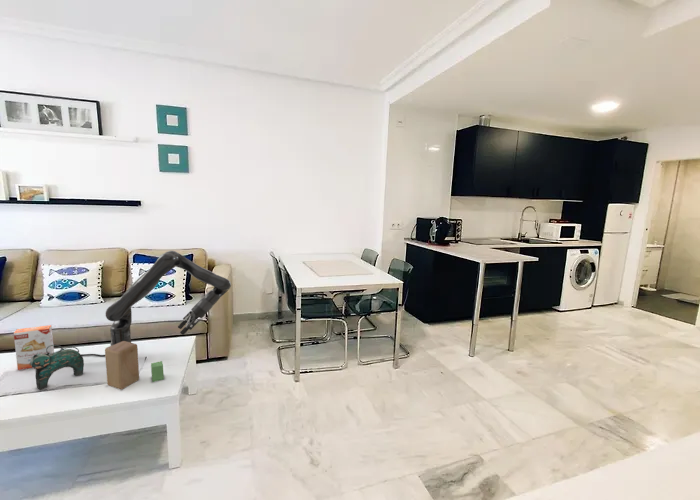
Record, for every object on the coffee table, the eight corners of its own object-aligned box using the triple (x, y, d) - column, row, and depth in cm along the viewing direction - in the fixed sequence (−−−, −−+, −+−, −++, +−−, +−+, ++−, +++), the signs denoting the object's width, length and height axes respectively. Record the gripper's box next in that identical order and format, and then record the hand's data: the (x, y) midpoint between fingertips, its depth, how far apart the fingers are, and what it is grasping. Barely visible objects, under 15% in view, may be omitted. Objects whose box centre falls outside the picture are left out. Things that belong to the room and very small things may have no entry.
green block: (151, 377, 172) (150, 363, 170) (162, 374, 175) (162, 360, 173) (152, 382, 168) (151, 367, 166) (163, 379, 171) (163, 365, 169)
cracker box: (17, 371, 171) (12, 333, 168) (20, 365, 176) (16, 328, 173) (53, 364, 179) (49, 328, 176) (55, 359, 184) (51, 324, 181)
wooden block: (140, 380, 169) (138, 343, 166) (121, 390, 159) (118, 352, 156) (126, 375, 172) (123, 339, 169) (106, 385, 163) (103, 348, 159)
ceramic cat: (35, 392, 155) (31, 353, 151) (30, 388, 158) (26, 349, 155) (86, 374, 171) (83, 338, 168) (80, 370, 175) (77, 335, 171)
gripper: (194, 299, 186) (172, 322, 181) (200, 307, 174) (176, 332, 170) (205, 307, 190) (183, 329, 185) (210, 315, 178) (188, 339, 174)
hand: (180, 330), depth 177 cm, fingers open, 8 cm apart
